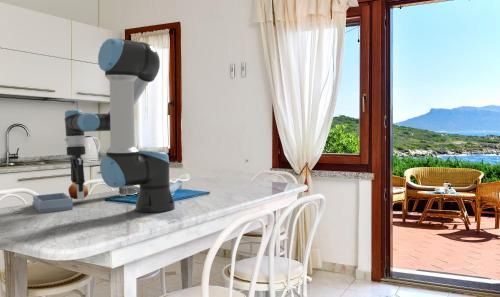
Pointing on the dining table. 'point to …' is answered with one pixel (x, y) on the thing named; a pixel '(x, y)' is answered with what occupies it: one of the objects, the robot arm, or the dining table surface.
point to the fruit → (74, 191)
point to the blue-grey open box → (52, 202)
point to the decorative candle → (127, 191)
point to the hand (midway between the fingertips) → (78, 198)
